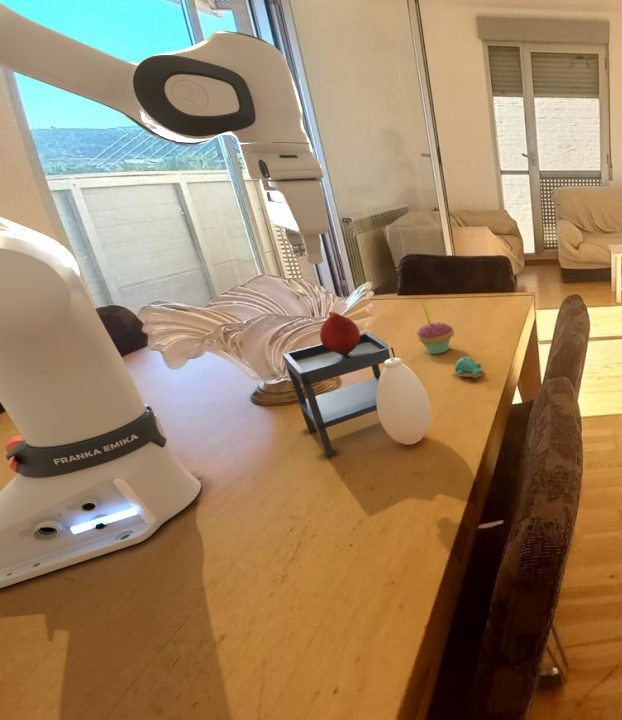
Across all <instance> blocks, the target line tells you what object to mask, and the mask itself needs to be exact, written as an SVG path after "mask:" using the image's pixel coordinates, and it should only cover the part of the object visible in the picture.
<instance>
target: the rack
mask: <svg viewBox="0 0 622 720" xmlns="http://www.w3.org/2000/svg"><path fill="white" fill-rule="evenodd" d="M388 345H389V344H388V343H386V342H385V341H384V340H382V339H380V338H379V337H378V336H375V334H372V333H371V332H370V331H366V332H363V333H360V339H359V343H358V344H357V346H356V347H355V348H354V349H353V350H352V351H351V352H350V353H349V354H348V355H346V356H342V355H340V354H338V353H336V352H333V351H331V350H330V349H328V348H326V347H325V346H324V345H323V344H322V343H319V344H315V345H311V346H306V347H302V348H299V349H294V350H292V351H287V352H283V353H281V355H282V358H283V361H284V365H285V367H286V370H287V373H288V376H289V378H290V381H291V384H292V387H293V391H294V393H295V396H296V399H297V402H298V405H299V407H300V410H301V413H302V416H303V420H304V423H305V425H306V427H307V430H308V432H309V433H312V432H314V431H317V432H318V435H319V438H320V441H321V445H322V447H323V450H324V454H325V456H326V457H329V456H332V455H334V454H335V451H334V449H333V446H332V443H331V439H330V437H329V433H328V432H327V428H331V427H333V426H336V425H339V424H341V423H344V422H347V421H350V420H353V419H355V418H356V419H357V418H358V417H361V416H364V415H367V414H369V413H372V412H375V411H377V404H376V394H377V386H378V381H379V378H380V375H381V370H380V366H379V365H380V364H381V365H382V364H384V362H385V361H386V360H388V359H390V355H389V349H388ZM390 347H391V350H392V354H393V357H394V358H396V355H395V351H394V348H393V347H392V346H391V345H390ZM370 367H371V369H372V373H373V377H372V378H369V379H366V380H363V381H359V382H356V383H353V384H350V385H346V386H343V387H340V388H337V389H333V390H331V391H327V392H324V393H321V394H318V395H315V392H314V389H313V386H312V385H314V384H317V383H321V382H323V381H326V380H330V379H333V378H337V377H340V376H344V375H347V374H351V373H354V372H357V371H361V370H364V369H367V368H370ZM303 390H304V391H303ZM304 393H305V394H304ZM305 396H306V397H305ZM316 429H317V430H316Z"/></svg>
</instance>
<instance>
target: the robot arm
mask: <svg viewBox="0 0 622 720" xmlns="http://www.w3.org/2000/svg"><path fill="white" fill-rule="evenodd" d="M0 68H1V69H6V70H8V71H11V72H14V73H17V74H20V75H22V76H25V77H27V78H29V79H33V80H36V81H39V82H41V83H44V84H47V85H49V86H52V87H55V88H58V89H60V90H63V91H66V92H69V93H71V94H73V95H76V96H79V97H82V98H84V99H87V100H90V101H91V102H92V101H93V102H95V103H98V104H100V105H103V106H105V107H108V108H110V109H112V110H115V111H116V112H118V113H119V114H121V115H123V116H124V117H126V118H128V119H129V120H130V121H132V122H133V123H134V124H135V125H137V126H139V127H140V128H141V129H143V130H144V131H146V132H147V133H149V134H150V135H151V136H154V137H155V138H157V139H158V140H161V141H163V142H166V143H169V144H172V145H176V146H183V147H196V146H201V145H204V144H207V143H209V142H211V141H212V140H213V139H214V138H217V137H219V136H221V135H229V136H233V137H234V138H235V139H236V141H237V145H238V147H239V151H240V154H241V157H242V161H243V164H244V168H245V170H246V174H247V178H248V179H249V180H259V181H260V184H261V188H262V191H263V194H264V198H265V202H266V205H267V206H266V207H267V210H268V213H269V217H270V220H271V222H272V223H273V225H274V226H275V227H278V228H280V229H282V230H283V233H284V236H285V238H286V240H287V242H288V244H289V246H290V249H291V253H292V255H293V256H295V257H306V260H307V263H309V264H311V265H319V264H322V263H323V262H324V259H323V255H322V242H321V241H322V240H321V236H320V235H325V234H328V233H329V227H330V225H329V224H330V223H329V222H330V221H329V216H328V210H327V203H326V199H325V193H324V189H323V186H322V182H321V181H320V179H323V178H324V171H323V167H322V164H321V162H320V161H319V160H318V159H317V158H316V156H315V154H314V151H313V147H312V142H311V140H310V138H309V136H308V134H307V132H306V130H305V127H304V123H303V107H302V104H301V100H300V97H299V93H298V89H297V86H296V83H295V80H294V78H293V74H292V72H291V69H290V67H289V65H288V62H287V60H286V58H285V57H284V55H283V53H282V52H281V51H280V50H279V49H278V48H277V47H275V46H274V45H273V44H271V43H269V42H268V41H267V40H264V39H262V38H259V37H257V36H254V35H251V34H247V33H243V32H238V31H230V30H217V31H214V32H213V33H212V34H211V35H210V36H208V37H207V38H205V39H204V40H202V41H200V42H198V43H196V44H194V45H192V46H188V47H186V48H182V49H179V50H174V51H169V52H163V53H158V54H153V55H150V56H148V57H146V58H144V59H142V60H141V61H140V62H138V63H137V62H131V61H127V60H123V59H121V58H118V57H116V56H113V55H112V54H109V53H107V52H105V51H102V50H100V49H98V48H95V47H93V46H90V45H89V44H86V43H84V42H81V41H78V40H77V39H74V38H72V37H70V36H68V35H65V34H63V33H60V32H58V31H56V30H54V29H51V28H49V27H47V26H45V25H42V24H40V23H37V22H35V21H34V20H31V19H29V18H27V17H26V16H24V15H22V14H20V13H18V12H16V11H15V10H13V9H11V8H10V7H7V5H5V4H3V3H1V2H0ZM0 405H1V406H2V407H3V409H4V410H5V412H6V414H7V415H8V417H9V418H10V420H11V421H12V423H13V425H15V427H16V429H17V431H18V432H19V434H20V435H15V436H12V437H11V438H9V439H8V442H7V443H6V446H5V451H6V453H7V454H6V457H5V458H6V460H7V465H8V466H9V467H10V469H11V471H12V472H13V473H16V475H15V476H14V477H13V478H11V480H10V481H9V482H8V483H7V484H6V485H5V486H3V488H2V489H0V589H2V588H5V587H8V586H12V585H15V584H17V583H21V582H24V581H27V580H30V579H32V578H36V577H39V576H42V575H45V574H48V573H52V572H54V571H57V570H60V569H64V568H66V567H69V566H72V565H75V564H78V563H82V562H85V561H88V560H91V559H94V558H97V557H100V556H103V555H106V554H109V553H112V552H116V551H120V550H122V549H124V548H127V547H130V546H133V545H137V544H139V543H142V542H144V541H145V540H147V539H148V538H150V537H151V536H152V535H153V534H154V533H155V532H156V531H157V530H158V529H159V528H161V526H162V525H163V524H165V523H166V522H167V521H168V520H170V519H172V518H173V517H174V516H176V515H177V514H179V513H180V512H182V511H183V510H184V509H186V507H188V506H189V505H190V504H191V503H192V502H193V501H194V500H195V499H196V498H197V496H198V495H199V494H200V491H201V490H202V489H201V488H202V484H201V481H200V480H199V479H198V478H196V477H195V476H194V475H193V474H192V473H191V472H190V471H188V469H187V468H186V467H185V466H184V465H183V464H182V463H181V461H180V460H179V458H177V456H176V454H175V453H174V452H173V451H172V449H171V448H170V446H169V445H168V443H167V442H168V441H167V435H166V432H165V430H164V427H163V425H162V424H161V421H160V419H159V418H158V416H157V414H156V413H155V412H154V410H153V409H152V407H151V406H150V405H149V404H146V403H145V402H144V400H143V397H142V396H141V394H140V392H139V390H138V387H137V385H136V383H135V382H134V380H133V377H132V375H131V374H130V371H129V370H128V368H127V366H126V364H125V360H124V359H123V357H122V355H121V353H120V351H119V350H118V348H117V347H116V345H115V343H114V342H113V339H112V338H111V336H110V334H109V332H108V331H107V329H106V327H105V325H104V323H103V321H102V319H101V318H100V315H99V313H98V312H97V310H96V308H95V306H94V304H93V302H92V300H91V298H90V296H89V294H88V292H87V290H86V287H85V285H84V283H83V280H82V276H81V270H80V267H79V265H78V263H77V261H76V259H75V258H74V256H73V255H72V253H71V252H69V250H68V249H67V248H65V247H64V246H63V245H61V243H59V242H57V241H56V240H55V239H52V238H51V237H49V236H46V235H45V234H42V233H40V232H37V231H35V230H33V229H30V228H27V227H25V226H23V225H20V224H18V223H16V222H13V221H11V220H9V219H5V218H4V217H2V216H0Z"/></svg>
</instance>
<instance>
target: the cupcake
mask: <svg viewBox="0 0 622 720" xmlns="http://www.w3.org/2000/svg"><path fill="white" fill-rule="evenodd" d="M422 306H423V312H424V315H425V318H426V320H427V324H425V325H423V326H421V328H419V329H418V331H417V333H416V335H417V339H418V341H419V342H421V343H422V344H423V345H424V347H425V348H426V350H427V352H428V354H429V353H430V354H433V355H436V354H437V355H438V354H442V353H445V352H447V351H449V346H450V342H451V341H450V340H451V338H452V337H453V336H454V334H455V331H454V329H453V327H452V326H451V325H449V324H447V323H444V322H433V323H432V320H431V318H430V315H429V313H428V309H427V307H426V306H425V304H422Z"/></svg>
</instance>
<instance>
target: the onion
mask: <svg viewBox="0 0 622 720" xmlns="http://www.w3.org/2000/svg"><path fill="white" fill-rule="evenodd" d="M328 316H329V317H328V318H327V319H326V320H325V321H324V322H323V323H322V325H321V326H320V331H319V339H320V341H321V344H323V345H324V346H325V347H326V348H328V349H330V350H331V351H333V352H336V353H338V354H340V355H342V356H346V355H348V354H349V353H350V352H351V351H352V350H353V349H354V348H355V347H356V346H357V344H358V343H359V339H360V334H361V332H360V329H359V327H358V326H357V324H356V323H355V322H354V321H353V320H351V319H350V318H348V317H346V316H344V315H341V314H340V313H337V312H336V311H334V310H331V311H328Z"/></svg>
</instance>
